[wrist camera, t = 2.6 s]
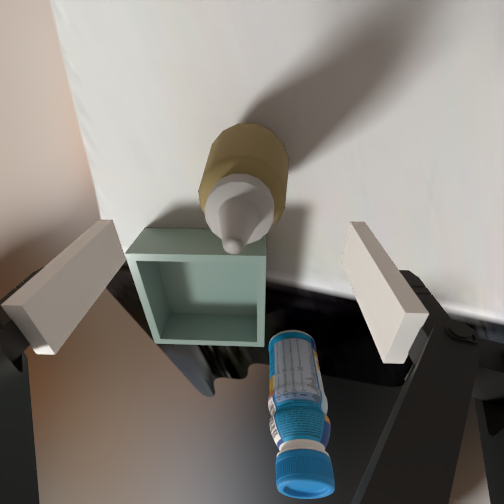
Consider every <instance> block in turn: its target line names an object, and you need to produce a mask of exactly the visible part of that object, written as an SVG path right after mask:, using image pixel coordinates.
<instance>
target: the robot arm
mask: <svg viewBox="0 0 504 504" xmlns="http://www.w3.org/2000/svg"><path fill="white" fill-rule="evenodd" d="M125 261H126V258H125V256H124V253H123V250H122V247H121V244H120V241H119V238H118V235H117V232H116V229H115V226H114V223H113V220H98V221H97V222H96V223H95V224H94V225H92V226H91V227H90V228H89V229H88V230H87V231H86V232H84V233H83V234H82V235H81V236H80V237H79V238H78V239H76V240H75V241H74V242H73V243H72V244H71V245H69V246H68V247H67V248H66V249H65V250H64V251H62V252H61V253H60V254H59V255H58V256H57V257H55V259H53V260H52V261H51V262H50V263H49V264H47V265H46V266H44V267H42V268H40V269H39V270H37V271H35V272H33V273H32V274H31V275H30V276H29V277H27V278H26V279H25V280H24V282H21V283H20V284H19V285H18V286H17V287H16V288H15V289H13V290H12V291H11V292H9V293H8V294H7V295H6V296H5V297H4V298H2V299H1V300H0V504H39V492H38V480H37V469H36V456H35V445H34V433H33V420H32V410H31V409H32V408H31V396H30V384H29V372H28V360H27V357H26V355H25V353H24V351H25V350H26V348H27V347H28V346H29V345H31V347H32V348H33V350H34V351H35V352H36V353H37V354H56V353H57V351H58V350H59V349H60V347H61V346H62V345H63V343H64V342H65V341H66V339H67V338H68V337H69V335H70V334H71V333H72V331H73V330H74V328H75V327H76V326H77V325H78V323H79V322H80V321H81V319H82V318H83V317H84V315H85V314H86V313H87V311H88V310H89V309H90V307H91V306H92V305H93V303H94V302H95V301H96V299H97V298H98V297H99V295H100V294H101V293H102V291H103V290H104V289H105V287H106V286H107V285H108V283H109V282H110V281H111V279H112V278H113V277H114V275H115V274H116V273H117V271H118V270H119V269H120V267H121V266H122V265H123V263H124V262H125ZM341 264H342V266H343V268H344V271H345V273H346V276H347V278H348V280H349V283H350V285H351V287H352V290H353V292H354V294H355V297H356V299H357V302H358V304H359V306H360V309H361V311H362V313H363V316H364V318H365V321H366V323H367V325H368V328H369V330H370V332H371V335H372V337H373V339H374V342H375V344H376V347H377V349H378V351H379V354H380V356H381V358H382V361H383V363H404V361H405V360H406V358H407V356H408V354H409V355H410V357H411V359H412V361H413V363H414V364H413V365H412V367H411V369H410V371H409V373H408V374H407V376H406V378H405V380H406V381H405V383H404V385H403V387H402V390H401V392H400V394H399V397H398V399H397V401H396V403H395V406H394V408H393V411H392V412H391V415H390V417H389V419H388V422H387V424H386V426H385V428H384V431H383V433H382V435H381V437H380V440H379V442H378V444H377V447H376V449H375V451H374V454H373V456H372V458H371V460H370V462H369V465H368V467H367V469H366V472H365V474H364V476H363V478H362V481H361V483H360V485H359V488H358V490H357V492H356V494H355V497H354V499H353V501H352V503H351V504H448V503H449V498H450V493H451V489H452V484H453V479H454V475H455V470H456V465H457V461H458V456H459V451H460V446H461V441H462V437H463V432H464V427H465V423H466V418H467V414H468V409H469V404H470V400H471V396H472V397H474V400H475V407H476V413H477V419H478V426H479V432H480V439H481V445H482V451H483V458H484V464H485V471H486V477H487V483H488V489H489V496H490V503H491V504H504V344H502V343H498V342H494V341H490V340H486V339H482V338H480V337H479V335H478V334H477V332H475V331H474V330H473V329H472V328H471V327H469V326H467V325H465V324H464V323H462V322H459V321H456V320H453V319H451V318H450V317H449V316H448V314H447V313H446V312H445V311H444V309H443V308H442V307H441V305H440V304H439V303H438V302H437V300H436V299H435V298H434V296H433V295H431V293H430V291H429V290H428V289H427V288H426V287H425V285H424V284H423V282H422V281H421V280H420V278H419V277H417V276H416V275H414V274H413V273H412V272H410V271H409V270H398V268H397V267H396V266H395V264H394V263H393V261H392V260H391V259H390V257H389V256H388V254H387V253H386V251H385V250H384V249H383V247H382V246H381V244H380V243H379V242H378V240H377V239H376V237H375V236H374V234H373V233H372V232H371V230H370V229H369V227H368V226H367V225H366V223H365V222H350V225H349V230H348V234H347V239H346V243H345V248H344V252H343V257H342V261H341Z"/></svg>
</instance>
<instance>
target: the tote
mask: <svg viewBox="0 0 504 504" xmlns="http://www.w3.org/2000/svg"><path fill="white" fill-rule="evenodd" d="M125 256H126V259H127V262H128V265H129V268H130V271H131V274H132V277H133V280H134V282H135V285H136V288H137V291H138V294H139V297H140V300H141V303H142V306H143V309H144V312H145V315H146V318H147V321H148V324H149V327H150V330H151V333H152V336H153V339H154V341H155V343H162V344H194V345H226V346H258V347H264V327H265V289H266V235H264V236H263V237H262V238H261V239H260V240H258V241H255V242H252V243H249V244H246V246H245V247H244V249H243V251H242V252H240V253H238V254H230V253H228V252H226V251H225V250H224V248H223V243H222V239H220V238H219V237H218V236H217V235H215V234H214V233H213V232H212V231H211V229H194V228H144V230H143V231H142V232H141V233H140V235H139V236H138V237H137V238H136V240H135V241H134V242H133V244H132V245H131V246H130V247H129V249H128V250H127V251H126V252H125Z"/></svg>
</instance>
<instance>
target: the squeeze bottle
mask: <svg viewBox="0 0 504 504" xmlns="http://www.w3.org/2000/svg"><path fill="white" fill-rule="evenodd" d="M288 164H289V158H288V155H287V153H286V150H285V147H284V144H283V142H282V141H281V140H280V139H279V138H278V137H277V136H276V135H275V134H274V132H273V131H272V130H270V129H267V128H265V127H263V126H260V125H258V124H256V123H246V124H236V125H234V126H232V127H230V128H228V129H226V130H224V131H223V132H222V133H221V134H220V135H219V136H218V138H217V139H216V140H215V141H214V142H213V144H212V146H211V150H210V153H209V157H208V160H207V163H206V167H205V170H204V174H203V177H202V181H201V184H200V187H199V191H198V192H199V200H200V207H201V209H202V211H203V212H204V214H205V219H206V222H207V224H208V226H209V227H210V229H211V231H212V232H213V233H214V234H215V235H217V236H218V237H219V238H220V239H222V243H223V248H224V250H225V251H226V252H228V253H230V254H238V253H240V252H242V251H243V249H244V247H245V246H246V244H249V243H252V242H255V241H258V240H260V239H261V238H262V237H263V236H264V235H266V234H267V233H268V232H269V230H270V228H271V227H272V226H273V225H274V224H276V223H277V222H278V220H279V218H280V216H281V214H282V212H283V210H284V208H285V201H286V190H287V179H288Z"/></svg>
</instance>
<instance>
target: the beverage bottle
mask: <svg viewBox="0 0 504 504" xmlns="http://www.w3.org/2000/svg"><path fill="white" fill-rule="evenodd" d="M269 356H270V396H269V400H268V405H269V411H270V413H271V415H272V417H271V419H270V423H269V425H270V430H271V434H272V437H273V439H274V441H275V443H276V445H277V447H278V448H279V450H280V452H279V453H278V454H277V458H276V483H277V488H278V490H279V491H280V492H281V493H282V494H284V495H286V496H290V497H294V498H303V499H304V498H305V499H311V498H321V497H325V496H328V495H330V494H332V493H333V492H334V490H335V486H334V485H335V481H334V476H333V470H332V465H331V460H330V457H329V455H328V453H327V452H325V451H324V450H325V448H326V446H327V443H328V440H329V436H330V420H329V418H328V417H327V416H326V413H327V409H328V405H327V399H326V396H325V394H324V390H323V385H322V379H321V374H320V369H319V364H318V358H317V353H316V345H315V341H314V339H313V338H312V337H311V336H310V335H309V334H307V333H305V332H303V331H299V330H286V331H282V332H279V333H277V334H276V335H274V336H273V337H272V339H271V340H270V342H269Z"/></svg>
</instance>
